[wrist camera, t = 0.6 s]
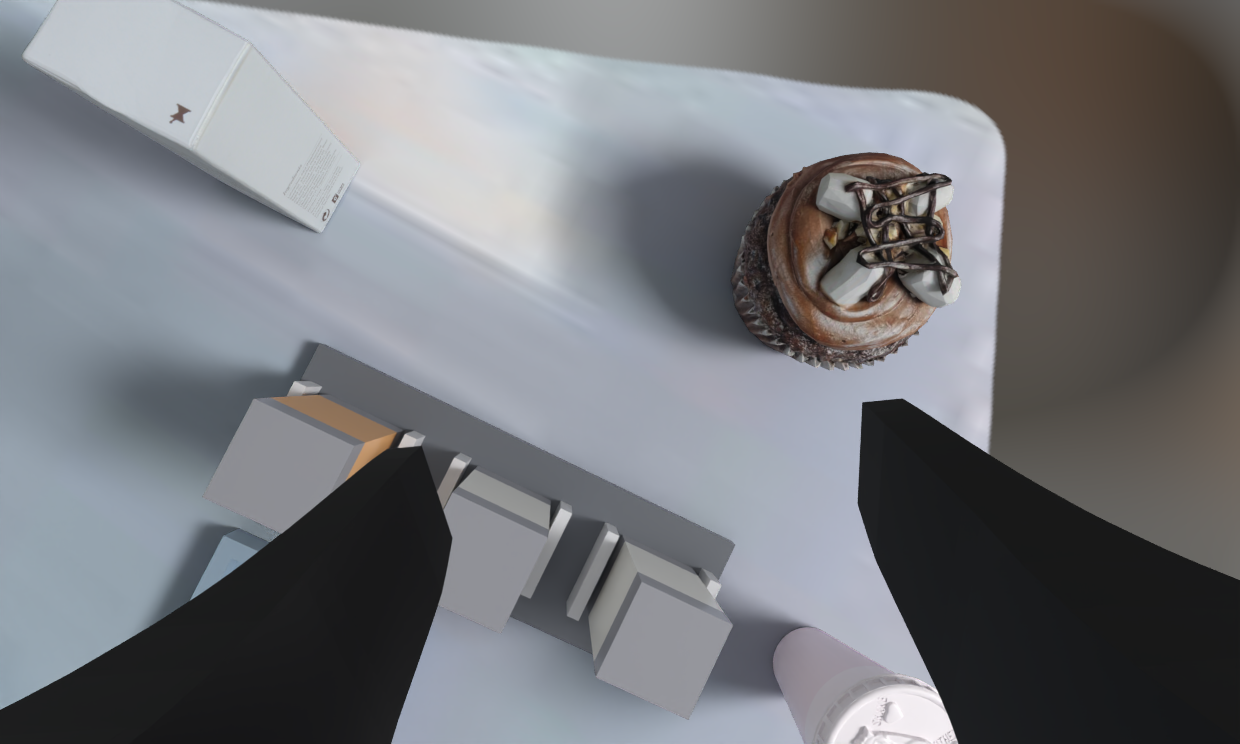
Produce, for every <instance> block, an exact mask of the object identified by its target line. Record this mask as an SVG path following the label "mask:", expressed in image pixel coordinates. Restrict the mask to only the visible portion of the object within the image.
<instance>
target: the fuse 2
mask: <svg viewBox="0 0 1240 744" xmlns="http://www.w3.org/2000/svg"><path fill="white" fill-rule="evenodd" d="M587 611H588V619H589V627H590V635H591V643H592V651H593V659H594V667H595V676H596V678H598V679H600V680H602V681H605V682H607V683H609V684H611V685H613V686H615V687H618V688H620V689H622V690H624V691H626V692H629V693H631V694H633V695H635V696H637V697H639V698H642V699H644V700H646V701H648V702H650V703H653V704H655V705H657V706H659V707H661V708H663V709H666V710H668V711H670V712H672V713H674V714H677V715H679V716H681V717H683V718H685V719H687V720H689V718H690V716H691V713H692V711H693V709H694V707H695V705H696V703H697V701H698V699H699V696H700V694H701V692H702V690H703V688H704V686H705V684H706V682H707V680H708V677H709V675H710V673H711V671H712V669H713V667H714V665H715V663H716V660H717V658H718V656H719V654H720V652H721V650H722V648H723V646H724V644H725V641H726V639H727V637H728V635H729V633H730V631H731V629H732V627H733V624H732V623H731V621H730V620H729V619H728V617H727V616H726V614H725V613H724V612H723V610H722V609H721V607H720V606H719V605H718V603H717V602H716V600H715V599H714V598H713V596H712V595H711V593H710V592H709V591H708V589H707V588H706V586H705V585H704V584H703V582H702V581H701V579H700V578H699V577H698V575H697V574H696V572H695V571H694V570H693V568H691V567H689V566H687V565H685V564H683V563H681V562H679V561H677V560H675V559H673V558H670V557H668V556H666V555H664V554H662V553H660V552H658V551H656V550H654V549H652V548H650V547H647V546H645V545H643V544H641V543H639V542H637V541H635V540H633V539H631V538H629V537H626V536H624V535H622V536H621V538H620V540H619V542H618V544H617V546H616V548H615V550H614V552H613V554H612V557H611V559H610V561H609V563H608V565H607V567H606V569H605V571H604V573H603V575H602V577H601V579H600V581H599V583H598V585H597V587H596V589H595V592H594V594H593V596H592V598H591V600H590V602H589V604H588V606H587Z"/></svg>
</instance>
